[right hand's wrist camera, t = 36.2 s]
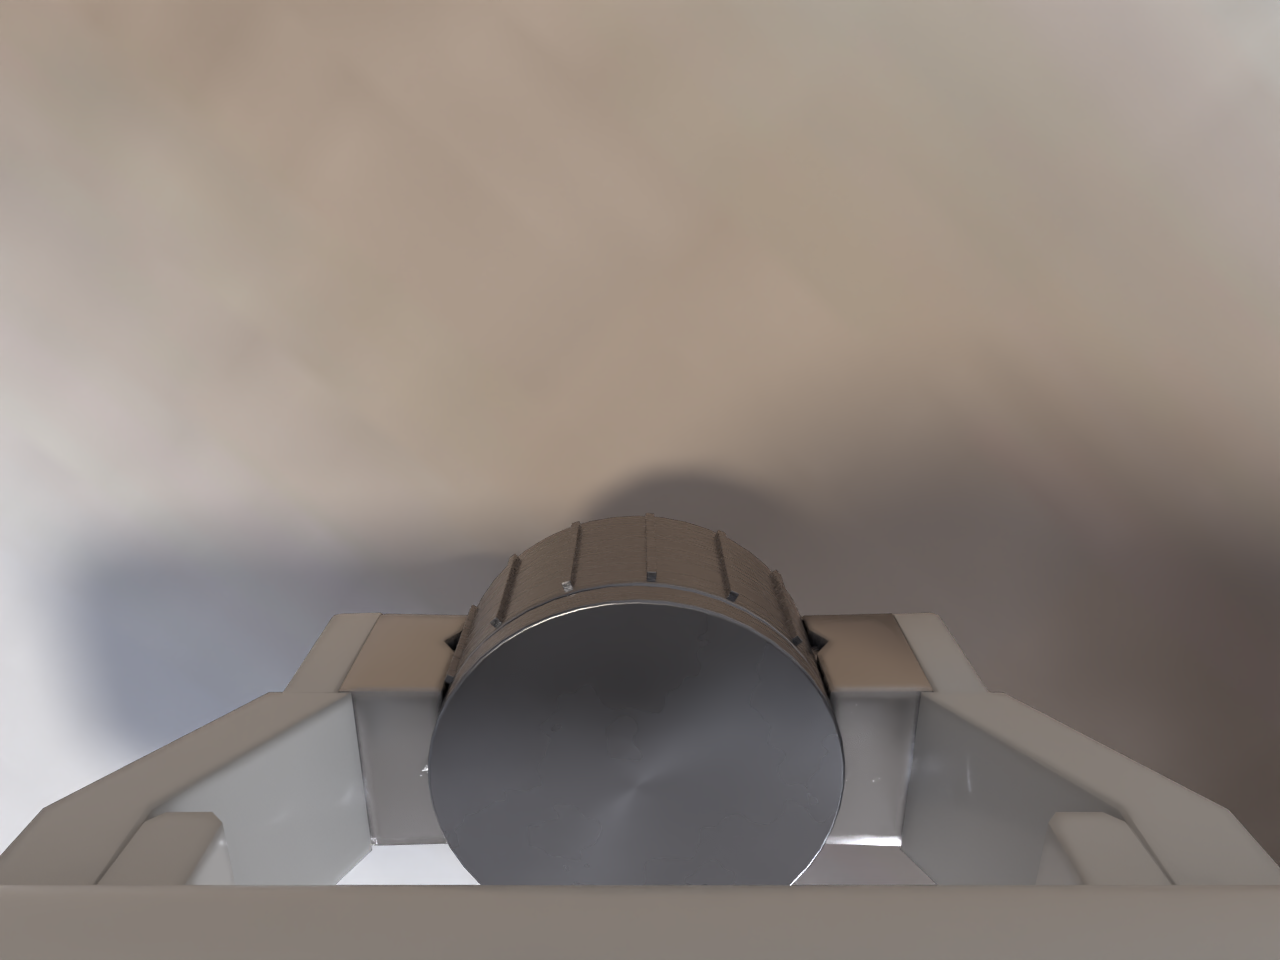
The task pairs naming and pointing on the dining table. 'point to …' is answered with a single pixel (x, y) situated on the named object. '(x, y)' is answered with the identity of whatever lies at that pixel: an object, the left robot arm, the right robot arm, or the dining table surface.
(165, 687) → the dining table surface
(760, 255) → the dining table surface
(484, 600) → the cap
